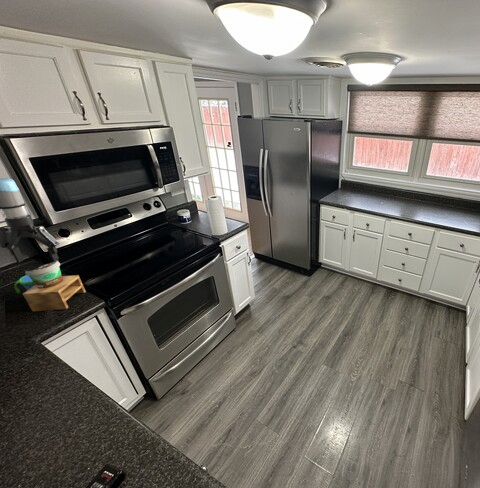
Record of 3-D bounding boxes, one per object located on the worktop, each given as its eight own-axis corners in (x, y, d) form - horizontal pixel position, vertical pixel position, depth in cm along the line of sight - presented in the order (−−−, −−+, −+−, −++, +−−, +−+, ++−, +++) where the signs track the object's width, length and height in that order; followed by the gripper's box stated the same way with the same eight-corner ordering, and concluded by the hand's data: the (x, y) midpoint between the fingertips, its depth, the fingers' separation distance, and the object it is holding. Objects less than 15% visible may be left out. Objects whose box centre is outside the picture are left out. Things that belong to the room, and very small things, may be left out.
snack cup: (17, 303, 127) (6, 285, 123) (25, 291, 135) (16, 275, 131) (60, 294, 134) (51, 277, 130) (65, 284, 142) (58, 267, 138)
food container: (43, 292, 119) (33, 273, 115) (33, 289, 121) (23, 271, 116) (73, 278, 130) (65, 260, 126) (64, 276, 131) (55, 258, 127)
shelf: (32, 311, 122) (22, 293, 118) (54, 293, 135) (46, 277, 130) (66, 308, 124) (58, 291, 120) (85, 291, 137) (78, 275, 133)
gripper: (58, 213, 116) (75, 255, 125) (-10, 213, 112) (13, 257, 121) (44, 218, 109) (64, 263, 118) (-28, 219, 105) (-2, 265, 114)
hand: (38, 260), depth 119 cm, fingers open, 13 cm apart
